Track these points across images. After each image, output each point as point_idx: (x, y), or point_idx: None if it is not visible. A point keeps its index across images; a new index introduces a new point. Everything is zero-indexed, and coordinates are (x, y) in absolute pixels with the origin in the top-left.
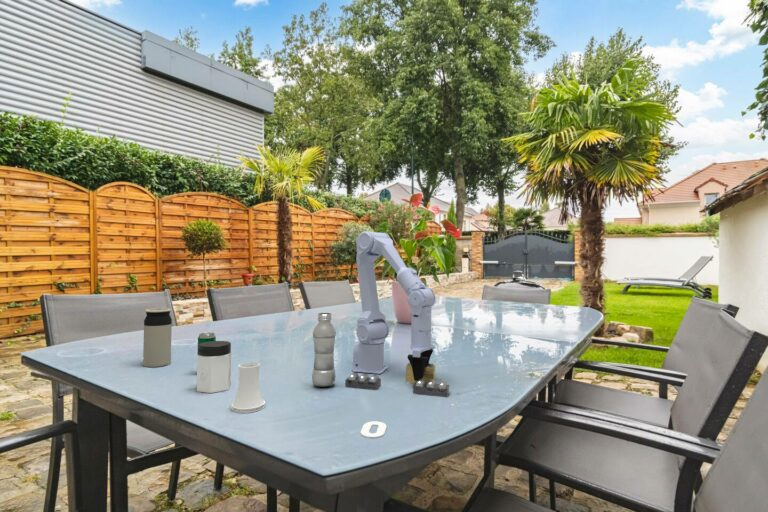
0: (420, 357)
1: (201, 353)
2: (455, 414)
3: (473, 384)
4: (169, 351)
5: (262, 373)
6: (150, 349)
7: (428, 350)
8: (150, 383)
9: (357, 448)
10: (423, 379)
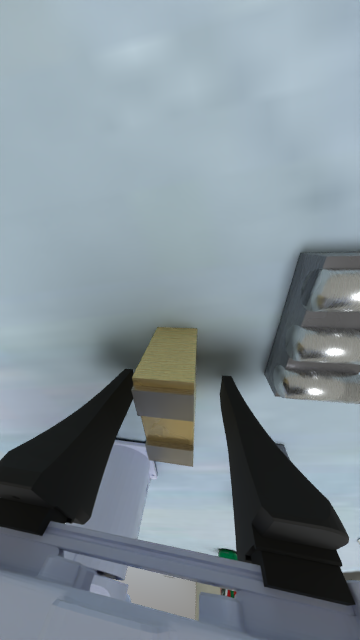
0: (338, 560)
1: None
2: None
3: (113, 117)
4: (206, 586)
5: (211, 530)
6: None
7: (47, 500)
8: None
9: None
10: (291, 385)
